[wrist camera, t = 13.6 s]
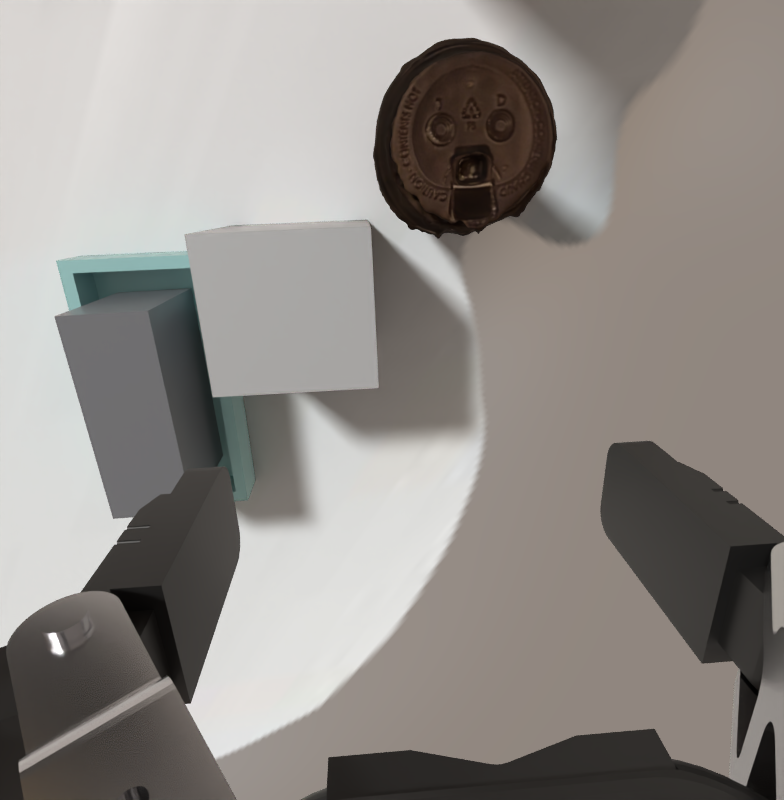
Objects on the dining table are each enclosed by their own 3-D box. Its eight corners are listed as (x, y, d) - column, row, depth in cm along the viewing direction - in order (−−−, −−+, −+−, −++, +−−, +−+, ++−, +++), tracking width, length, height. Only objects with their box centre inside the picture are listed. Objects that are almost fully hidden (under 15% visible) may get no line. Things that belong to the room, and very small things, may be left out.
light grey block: (231, 225, 35) (184, 234, 25) (367, 219, 35) (370, 226, 26) (249, 348, 38) (212, 397, 28) (373, 341, 38) (378, 388, 29)
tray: (80, 255, 35) (56, 260, 32) (220, 249, 35) (208, 254, 33) (138, 487, 42) (121, 508, 39) (255, 479, 42) (247, 500, 39)
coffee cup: (440, 255, 37) (482, 282, 24) (342, 182, 34) (334, 172, 22) (518, 144, 34) (607, 112, 22) (418, 58, 32) (455, -28, 20)
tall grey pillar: (118, 292, 35) (54, 316, 28) (191, 287, 36) (147, 310, 28) (159, 463, 40) (114, 522, 33) (223, 458, 40) (193, 516, 33)
